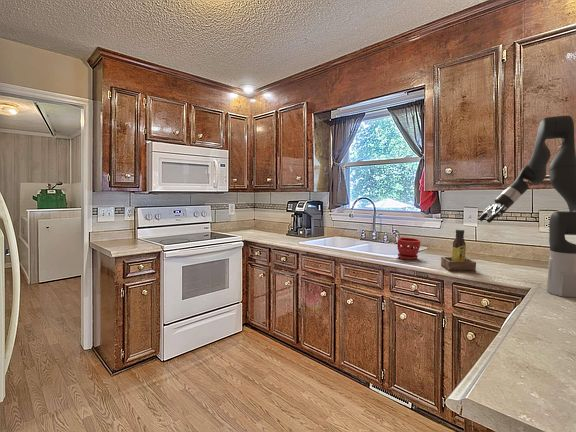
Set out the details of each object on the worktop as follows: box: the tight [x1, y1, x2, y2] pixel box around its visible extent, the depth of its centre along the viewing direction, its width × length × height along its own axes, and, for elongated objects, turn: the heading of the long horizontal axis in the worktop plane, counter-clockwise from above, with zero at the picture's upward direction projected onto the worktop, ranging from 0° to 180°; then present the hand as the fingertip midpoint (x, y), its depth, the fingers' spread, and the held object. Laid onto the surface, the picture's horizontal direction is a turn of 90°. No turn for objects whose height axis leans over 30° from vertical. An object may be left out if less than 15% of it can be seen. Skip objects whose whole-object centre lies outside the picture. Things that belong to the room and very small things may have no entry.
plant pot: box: [396, 237, 421, 261], centre depth 198 cm, size 13×13×12 cm
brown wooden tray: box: [440, 256, 477, 273], centre depth 172 cm, size 12×13×5 cm
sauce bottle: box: [451, 229, 467, 262], centre depth 171 cm, size 6×6×20 cm
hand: (483, 220), depth 168 cm, fingers open, 8 cm apart
